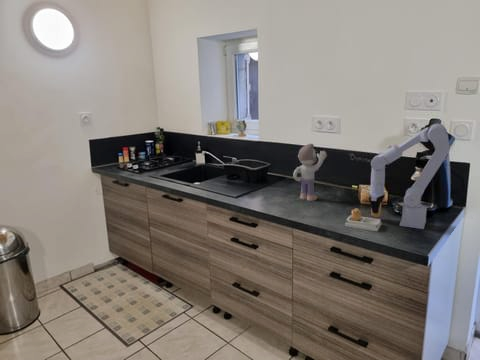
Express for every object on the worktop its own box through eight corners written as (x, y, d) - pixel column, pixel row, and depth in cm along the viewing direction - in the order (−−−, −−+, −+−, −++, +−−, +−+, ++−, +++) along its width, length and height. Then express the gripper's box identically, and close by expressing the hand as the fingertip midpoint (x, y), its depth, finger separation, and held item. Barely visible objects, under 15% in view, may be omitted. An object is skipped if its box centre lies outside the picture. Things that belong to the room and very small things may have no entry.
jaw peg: (381, 214, 165) (382, 198, 163) (379, 217, 162) (380, 201, 160) (369, 212, 168) (369, 197, 166) (367, 215, 165) (367, 200, 163)
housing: (381, 224, 160) (382, 209, 158) (377, 231, 153) (378, 215, 151) (349, 219, 166) (350, 204, 164) (344, 226, 159) (345, 210, 157)
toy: (330, 200, 194) (331, 144, 186) (321, 204, 188) (322, 147, 180) (301, 194, 206) (301, 141, 198) (292, 198, 200) (291, 144, 192)
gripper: (371, 177, 169) (370, 205, 172) (364, 185, 157) (363, 215, 160) (387, 179, 165) (386, 207, 169) (381, 187, 153) (380, 217, 157)
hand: (376, 211), depth 164 cm, fingers closed on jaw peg, 4 cm apart
